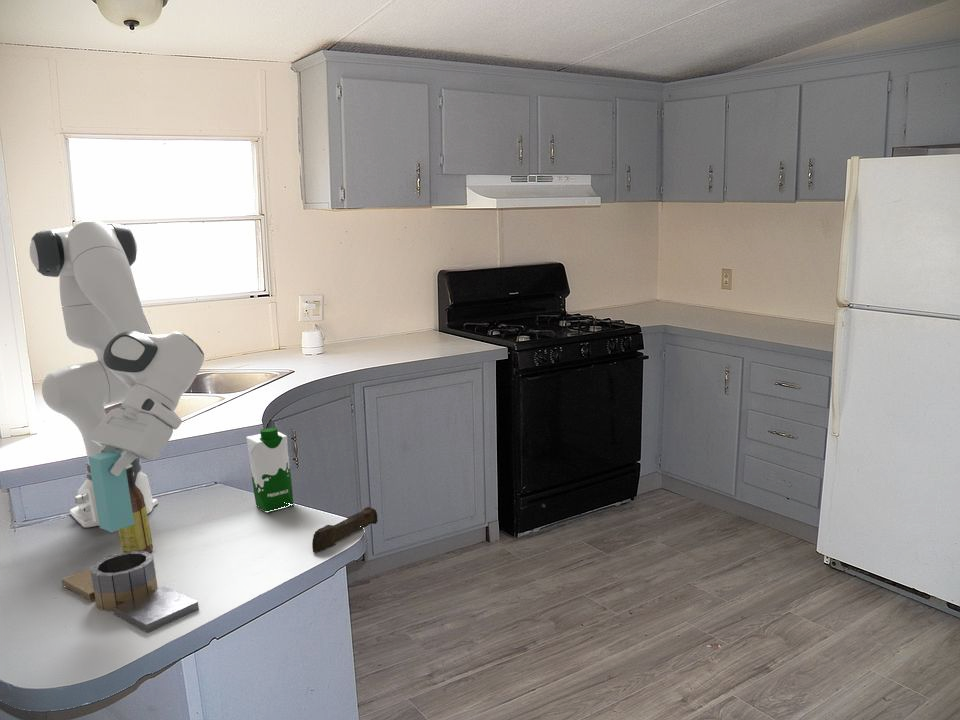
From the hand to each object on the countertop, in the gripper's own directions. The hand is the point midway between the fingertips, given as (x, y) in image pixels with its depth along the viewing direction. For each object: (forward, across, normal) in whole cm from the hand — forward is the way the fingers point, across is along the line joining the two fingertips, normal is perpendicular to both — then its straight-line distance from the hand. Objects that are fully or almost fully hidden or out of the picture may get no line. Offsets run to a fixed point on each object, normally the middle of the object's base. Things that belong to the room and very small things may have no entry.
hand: (104, 471), depth 151 cm
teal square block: (+7, 0, +8) cm, 11 cm away
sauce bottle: (+9, -19, +27) cm, 34 cm away
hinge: (+18, 0, +18) cm, 25 cm away
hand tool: (-12, +15, +48) cm, 52 cm away
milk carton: (-15, -16, +51) cm, 55 cm away
